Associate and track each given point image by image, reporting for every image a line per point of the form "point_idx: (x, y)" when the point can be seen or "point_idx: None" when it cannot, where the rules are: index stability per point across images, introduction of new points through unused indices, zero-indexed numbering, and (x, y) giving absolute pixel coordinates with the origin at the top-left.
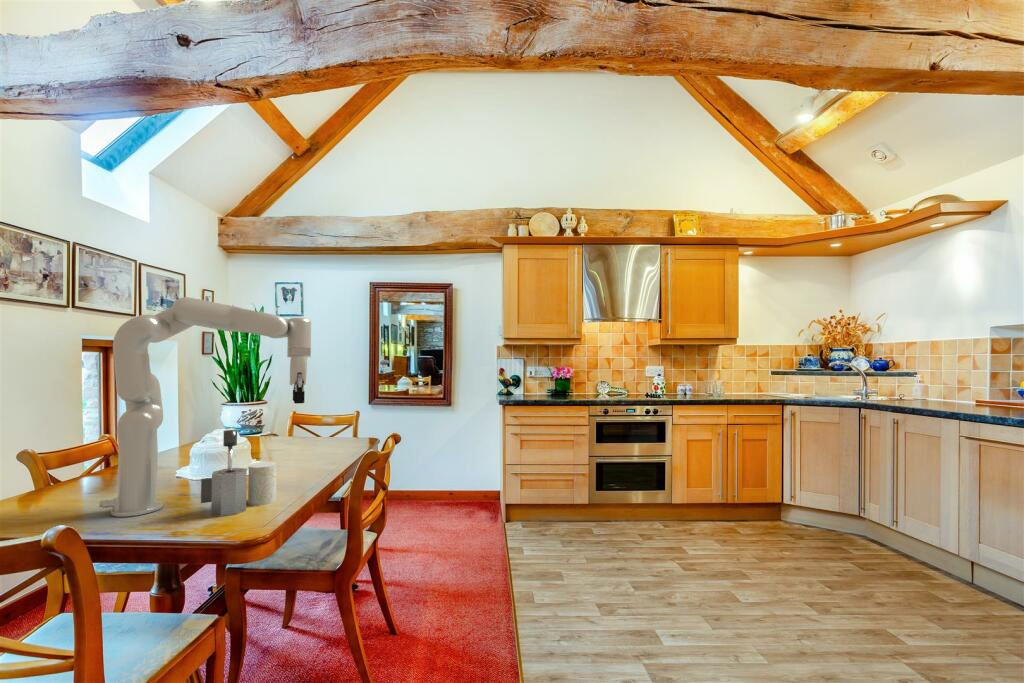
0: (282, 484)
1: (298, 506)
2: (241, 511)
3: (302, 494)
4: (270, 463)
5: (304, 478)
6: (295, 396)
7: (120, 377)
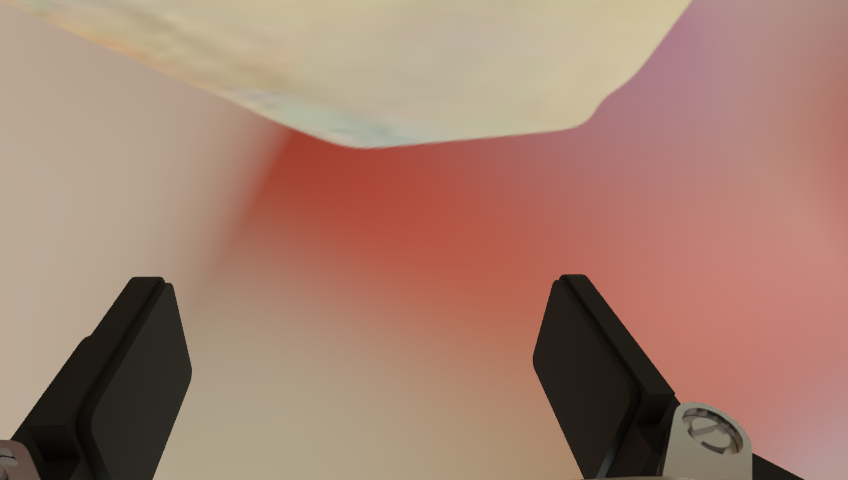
0: (509, 28)
1: (124, 52)
2: None
3: (304, 88)
4: None
5: (551, 125)
6: (90, 363)
7: None
